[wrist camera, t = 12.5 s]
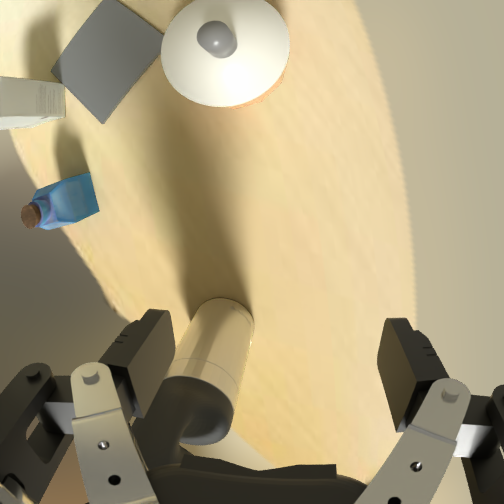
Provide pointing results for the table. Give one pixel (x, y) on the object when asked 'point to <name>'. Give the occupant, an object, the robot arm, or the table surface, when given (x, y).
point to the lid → (225, 51)
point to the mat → (107, 57)
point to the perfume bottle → (61, 203)
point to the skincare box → (29, 102)
